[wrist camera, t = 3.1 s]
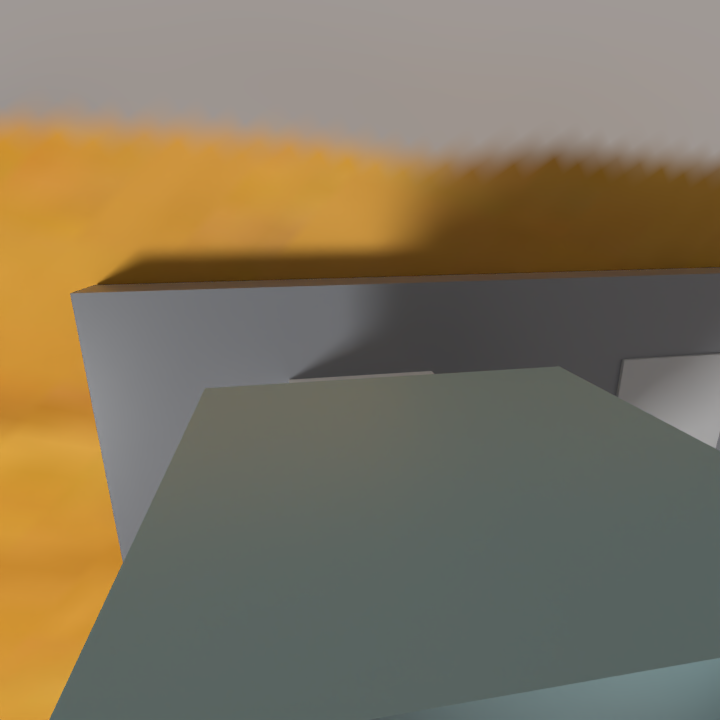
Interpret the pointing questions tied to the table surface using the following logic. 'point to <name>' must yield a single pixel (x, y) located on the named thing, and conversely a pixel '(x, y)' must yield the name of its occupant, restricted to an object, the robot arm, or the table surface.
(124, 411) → the pin board
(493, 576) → the housing
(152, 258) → the table surface
